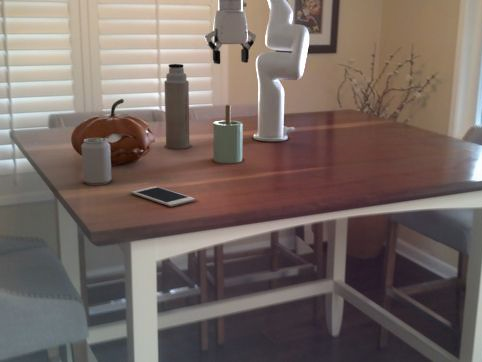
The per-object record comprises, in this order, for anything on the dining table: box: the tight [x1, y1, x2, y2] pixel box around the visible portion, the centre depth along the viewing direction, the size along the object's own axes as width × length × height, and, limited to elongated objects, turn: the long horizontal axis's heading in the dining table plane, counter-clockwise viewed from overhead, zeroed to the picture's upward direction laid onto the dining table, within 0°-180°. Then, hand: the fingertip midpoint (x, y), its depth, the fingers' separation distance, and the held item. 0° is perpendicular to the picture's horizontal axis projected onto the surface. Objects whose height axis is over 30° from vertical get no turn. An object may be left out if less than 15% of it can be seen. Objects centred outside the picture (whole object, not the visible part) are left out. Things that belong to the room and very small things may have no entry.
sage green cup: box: [212, 120, 244, 164], centre depth 210 cm, size 9×9×12 cm
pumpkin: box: [70, 98, 156, 166], centre depth 204 cm, size 25×25×19 cm
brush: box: [224, 104, 232, 125], centre depth 209 cm, size 4×4×17 cm
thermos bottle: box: [164, 63, 190, 150], centre depth 226 cm, size 8×8×28 cm
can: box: [81, 138, 112, 186], centre depth 181 cm, size 8×8×12 cm
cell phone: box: [131, 185, 195, 208], centre depth 170 cm, size 8×16×1 cm, turn 48°
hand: (231, 62), depth 208 cm, fingers open, 9 cm apart
